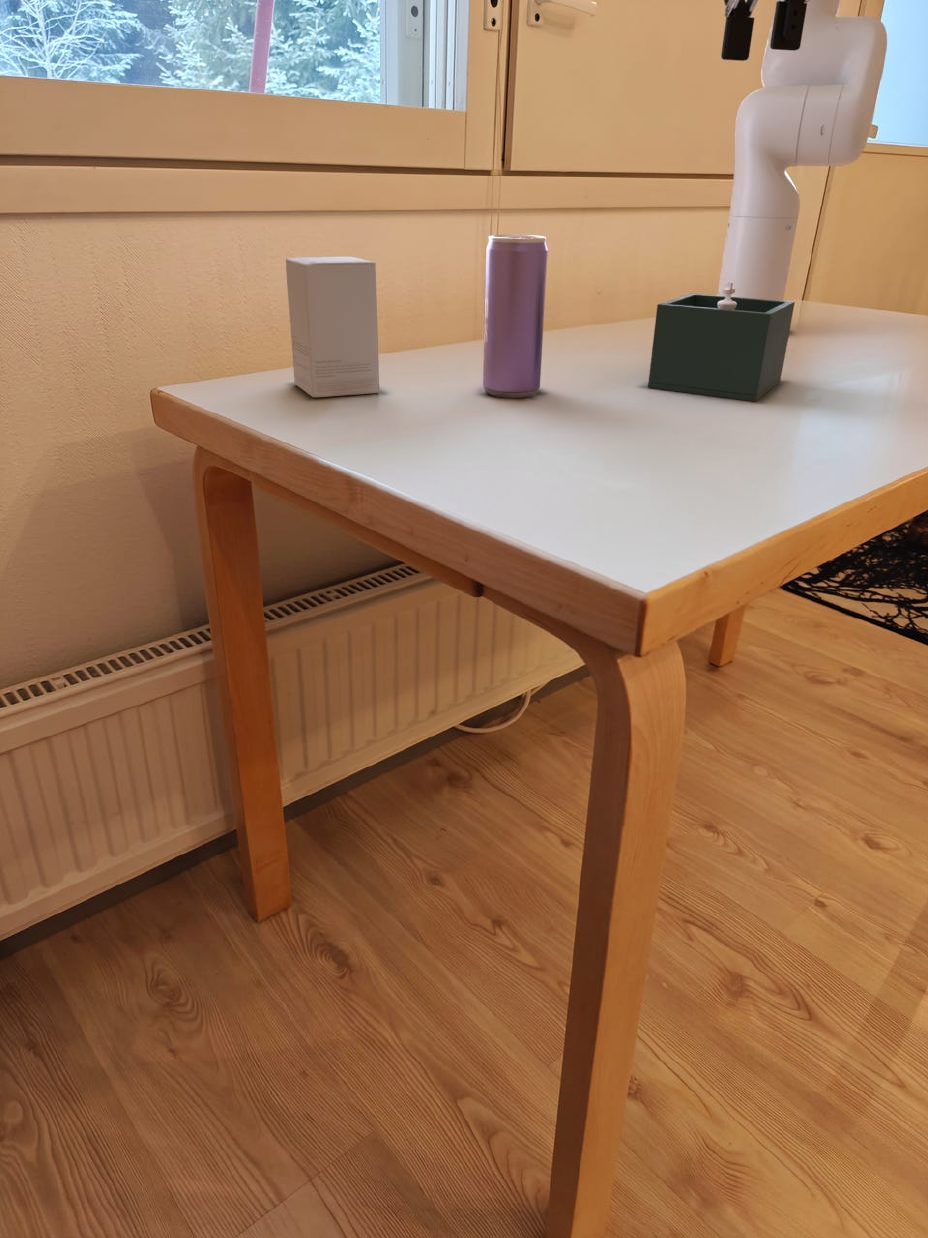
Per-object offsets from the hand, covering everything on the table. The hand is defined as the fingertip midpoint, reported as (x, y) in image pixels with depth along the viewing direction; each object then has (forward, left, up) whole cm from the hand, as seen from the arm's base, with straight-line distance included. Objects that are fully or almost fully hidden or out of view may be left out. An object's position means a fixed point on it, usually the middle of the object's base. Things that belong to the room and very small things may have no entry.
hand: (758, 54), depth 93 cm
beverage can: (+30, -13, -32) cm, 46 cm away
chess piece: (+14, +4, -32) cm, 35 cm away
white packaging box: (+39, -29, -32) cm, 58 cm away
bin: (+14, +4, -32) cm, 35 cm away
